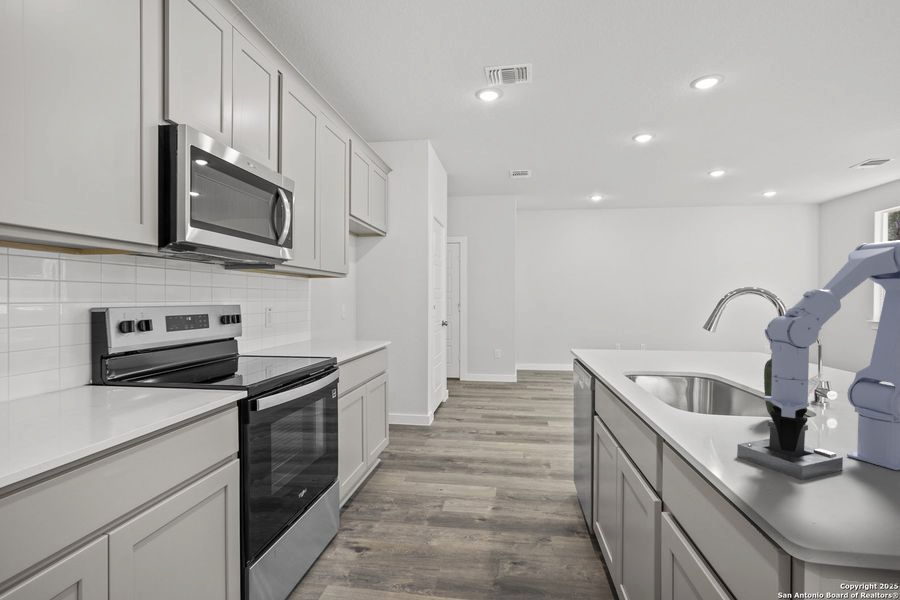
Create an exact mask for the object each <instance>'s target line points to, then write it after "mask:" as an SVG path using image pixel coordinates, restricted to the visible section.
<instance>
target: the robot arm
mask: <svg viewBox="0 0 900 600" xmlns="http://www.w3.org/2000/svg"><path fill="white" fill-rule="evenodd" d="M868 279H870V281H873V282H874V283H875V284H878V285H880V286H881V287H882V288H883V290H885V292H884V293H885V294H884V298H883V303H882V307H881V312H880V317H879V321H878V325H877V330H876V335H875V339H874V344H873V349H872V353H871V358H870V364H869V365H868V366H867V367H863V368H862V369H860V370H858V371H857V372H856V373H855V377H854V379H853V382H852V383H851V384H850V386H849V387H848V389H847V400H848V402H849V403H850V405H851V406H852V407H854V412H855V413H856V414H857V413H858V415H857V446H856V447H857V450H856V451H853V452H849V453H846V456H847V457H850V458H852V459H855V460H856V459H857V460H859V461H863V462H867V463H870V464H873V465H877V466H880V467H884V468H887V469H890V470H894V471H899V470H900V239H897V240H892V241H891V240H889V241H880V242H873V243H872V242H864V243H861V244H859V245H857V246H856V248H855V249H854V250H853V251H852V252H850V253H848V261H847V262H846V263H845V264H844V265H843V266H842V268H841V269H840V270H838V271H837V272H836V273H835V275H834V276H833V277H832V278H831V279H830V280H829V281H828V282H827V283H826V284H825V286H823V288H822V289H813V290H809V291H805V292H804V293H803V294H802V296H803V297H802V298H801V299H800V300H799V301H798V302H797V303H795V305H793V306H792V307H791V308H789V309H787V310H786V313H784V315H783V316H782V315H780V316H776V317H774V318H773V319H772V320H770V321H769V323H768V324H767V327H766V328H765V329H764V335H765V338H766V340H767V341H768V342H769V345H770V346H769V349H770V351H771V354H772V391H771V396H765V395H764V397H763V400H764V402H765V401H770V402H772V403H773V405H772V407H773V409H774V411H775V412H774V411H771V412H770V414H769V416H770V418H771V420H773V422H774V424H775V426H776V429H777V433H778V438H779V444H780V448H781V450H785V451H790V452H795V450H796V447H797V443H798V439H799V435H800V432H801V430H802V428H803V426H804V425H805V424H806V425H807V422H808V418H807V417H804V416H805V415H806V413H807V412H808V407H810V401H809V371H810V370H809V368H810V367H809V362H810V346H812V345H814V344H815V343H816V342H817V340H818V338H819V333H820V330H822V327H823V325H825V324H826V323H827V321H829V320H830V319H831V318H832V317H833V316H834V315H836V314H837V313H838V312H839V311H840V310H841V308H842V304H841V300H842V299H843V298H845V297H846V296H847V295H848V294H849V293H851V292H852V291H854V290H855V289H856V288H857V287H858V286H860V285H862V283H864V282H865V281H866V280H868ZM882 382H883V383H882ZM884 382H885V383H884ZM886 383H890V384H892V385H890V384H886Z"/></svg>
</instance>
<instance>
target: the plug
mask: <svg viewBox="0 0 900 600" xmlns="http://www.w3.org/2000/svg"><path fill="white" fill-rule="evenodd" d="M767 426H768V427H769V439H770V442H769V450H772V451H775V452H778V453H781V454H785V455H788V456H791V457H794V458H797V457H802V456H804V446H805V442H806V440H805V439H806V431H808V430H809V424H807V423H806V424H805V425H804V426H803V428H802V430H801V432H800V435H799V439H798V443H797V447H796V450H795V452H790V451H785V450H781V448H780V444H779V438H778V433H777V429H776V426H775V424H774V422H773V420H772V419H771V420H767Z"/></svg>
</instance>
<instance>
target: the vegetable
mask: <svg viewBox="0 0 900 600" xmlns="http://www.w3.org/2000/svg"><path fill="white" fill-rule="evenodd" d="M770 356H771V357H770V359H768V360H766V363H765V365H764V369H763V384H764V385H763V386H764V396H771V391H772V353H771V355H770ZM764 402H765V405H766V411H767V413H768V414H769V415H770V412H771V411H774V409H773V407H772V405H773V403H772V402H770V401H765V400H764ZM774 412H775V411H774Z"/></svg>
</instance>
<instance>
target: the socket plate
mask: <svg viewBox="0 0 900 600" xmlns="http://www.w3.org/2000/svg"><path fill="white" fill-rule="evenodd" d="M769 442H770V438H765V439H760V440H755V441H749V442H743V443H738V444H737V453H736V455H737V458H740V459H743V460H747V461H749V462H752V463H755V464H757V465H761V466H764V467H766V468H769V469H772V470H774V471H777V472H780V473H782V474H785V475H788V476H791V477H794V478H797V479H800V480H803V481H804V480H806V479H811V478H815V477H820V476H824V474H825V475H827V474H828V473H829V474H832V472H833V473H837V472H841V471H843V464H844V463H843V462H844V460H843V458H844V457H843V456H840V455H838V454H837V453H836V452H832V451H830V450H826V449H822V448H813V447H810V446H808V445H807V446H806V445H804V456H802V457H797V458H794V457H791V456H788V455H785V454H781V453H778V452H775V451H772V450H769ZM840 470H841V471H840ZM836 471H837V472H836Z"/></svg>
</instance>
